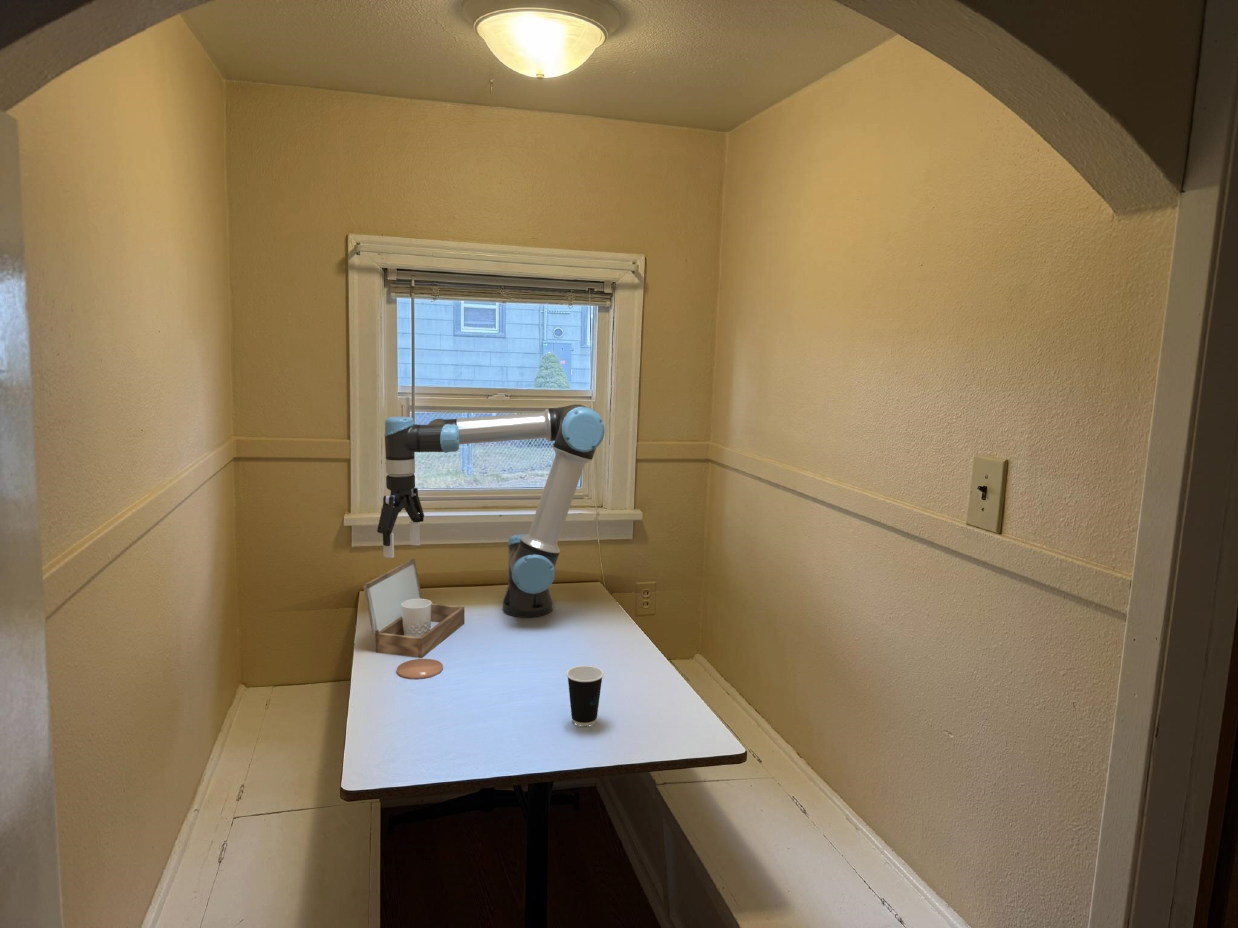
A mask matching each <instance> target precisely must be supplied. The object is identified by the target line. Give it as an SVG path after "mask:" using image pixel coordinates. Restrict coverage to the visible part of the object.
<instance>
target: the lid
mask: <svg viewBox="0 0 1238 928" xmlns="http://www.w3.org/2000/svg"><path fill="white" fill-rule="evenodd" d="M362 586H363V591H364V598H365V602H366V608H367V613H368V619H369V623H370V628H371V635H375V631H376V630H379V631H380V630H382V629H383V628H385V627H386V626H388V625H389V624H391V623H392V622H394V621H395V620H397V619H398V618H400V617H401V616H402V607H401V604H402V603H403V602H404V601H407V600H411V599H423V598H422V592H421V586H420V581H419V577H418V570H417V563H416V559H415V558H412V559H409V560H408V561H406V562H403V563H402V564H400V565H398V566H396V567H395V568H393V569H391V570H389V571H387V572H385V573H383V574H381V575H379V576H378V577H376V578H374V579H372V580H370V581H368V582H366V583H364V584H363V585H362Z"/></svg>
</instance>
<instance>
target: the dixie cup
mask: <svg viewBox="0 0 1238 928" xmlns="http://www.w3.org/2000/svg"><path fill="white" fill-rule="evenodd" d="M565 674H566V677H567V684H568V693H569V702H570V705H569V706H570V714H571V719H572V723H573V722H574V723H576V724H577V725H581V726H589V725H592V724H594V723H596V720H597V717H598V713H599V706H600V705H599V704H600V698H601V689H602V682H603V681H602V679H603V677H604V674H605V673H604V671H603V670H602V669H601V668H599V667H597V666H594V665H577V666H573V667H571V668H568V669H567V671H566V673H565ZM574 723H573V724H574ZM577 725H576V726H577ZM594 725H595V724H594ZM592 726H593V725H592ZM589 727H590V726H589Z"/></svg>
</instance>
